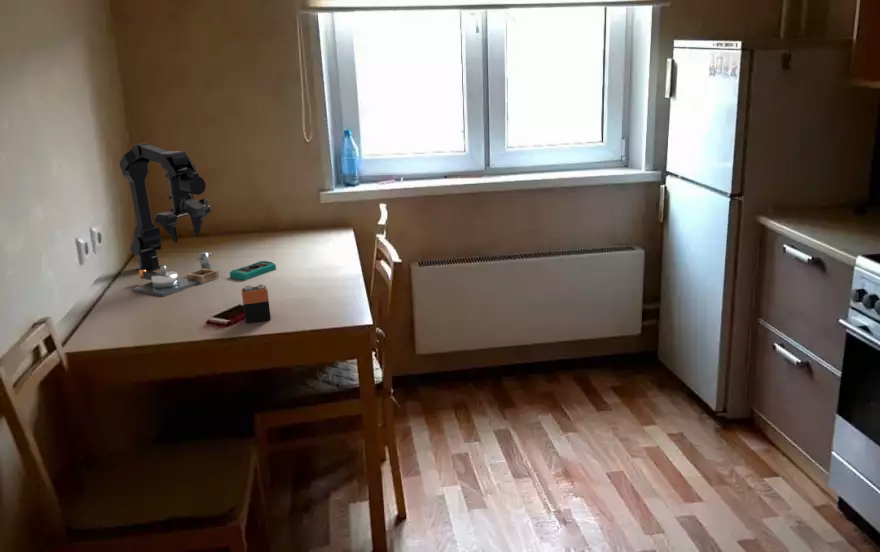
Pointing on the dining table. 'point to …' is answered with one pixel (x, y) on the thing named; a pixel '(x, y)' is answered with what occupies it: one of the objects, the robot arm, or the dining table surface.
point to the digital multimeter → (252, 270)
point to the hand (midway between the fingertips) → (187, 239)
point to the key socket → (203, 275)
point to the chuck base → (166, 291)
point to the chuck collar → (160, 277)
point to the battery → (256, 303)
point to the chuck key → (204, 260)
